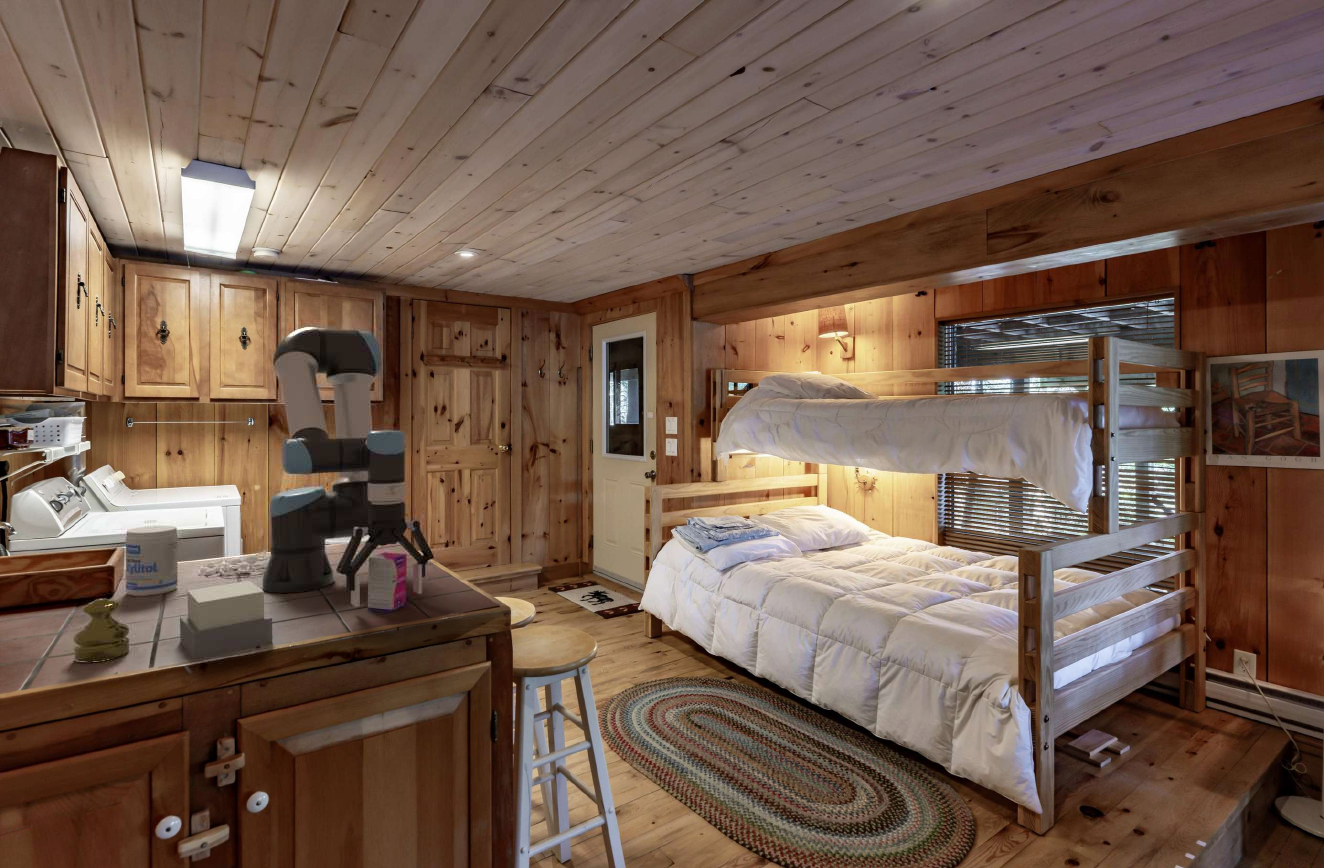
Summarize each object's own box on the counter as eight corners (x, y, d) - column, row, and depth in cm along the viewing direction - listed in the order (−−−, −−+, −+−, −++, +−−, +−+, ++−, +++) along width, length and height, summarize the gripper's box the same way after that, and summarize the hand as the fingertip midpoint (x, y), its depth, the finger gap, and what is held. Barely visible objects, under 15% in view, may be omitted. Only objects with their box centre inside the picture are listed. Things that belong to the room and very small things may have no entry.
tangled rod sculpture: (186, 585, 164) (184, 569, 163) (211, 566, 178) (210, 551, 177) (272, 579, 168) (271, 563, 168) (290, 561, 182) (289, 546, 182)
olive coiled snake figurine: (90, 666, 110) (89, 608, 110) (64, 660, 113) (62, 602, 113) (139, 651, 117) (138, 596, 117) (113, 645, 120) (111, 591, 119)
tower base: (180, 643, 122) (179, 617, 122) (254, 628, 131) (253, 603, 130) (194, 662, 114) (193, 633, 114) (272, 644, 122) (272, 617, 122)
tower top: (188, 617, 122) (187, 590, 122) (250, 605, 129) (249, 580, 129) (199, 630, 115) (198, 602, 115) (264, 618, 122) (263, 591, 122)
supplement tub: (119, 599, 147) (117, 534, 147) (134, 587, 156) (132, 526, 155) (172, 594, 151) (170, 531, 150) (183, 583, 160) (182, 523, 159)
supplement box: (391, 612, 140) (391, 559, 140) (367, 610, 142) (366, 557, 141) (407, 604, 146) (407, 553, 146) (383, 602, 147) (383, 551, 147)
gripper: (332, 509, 131) (333, 615, 132) (448, 498, 149) (449, 590, 150) (318, 505, 136) (320, 606, 137) (433, 494, 154) (433, 584, 155)
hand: (387, 598), depth 144 cm, fingers open, 13 cm apart
